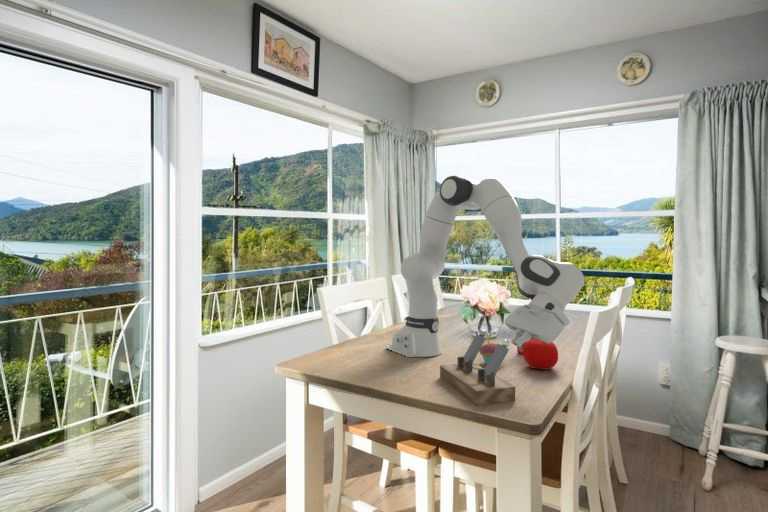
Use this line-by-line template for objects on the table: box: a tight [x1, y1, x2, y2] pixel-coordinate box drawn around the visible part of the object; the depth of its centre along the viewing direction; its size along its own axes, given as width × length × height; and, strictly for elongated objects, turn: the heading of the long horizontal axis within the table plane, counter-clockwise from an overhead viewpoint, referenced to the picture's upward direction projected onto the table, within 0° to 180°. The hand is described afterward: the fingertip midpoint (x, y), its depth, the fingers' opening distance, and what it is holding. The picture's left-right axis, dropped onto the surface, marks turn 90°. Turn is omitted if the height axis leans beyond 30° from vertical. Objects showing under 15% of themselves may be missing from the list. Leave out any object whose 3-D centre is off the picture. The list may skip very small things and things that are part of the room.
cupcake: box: [478, 330, 498, 365], centre depth 157 cm, size 9×8×12 cm
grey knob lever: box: [461, 329, 487, 363], centre depth 139 cm, size 2×4×12 cm
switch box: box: [439, 355, 516, 407], centre depth 132 cm, size 12×24×7 cm, turn 17°
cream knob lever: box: [482, 339, 510, 376], centre depth 127 cm, size 2×4×12 cm
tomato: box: [522, 338, 559, 370], centre depth 152 cm, size 11×12×10 cm
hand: (515, 344), depth 128 cm, fingers closed
